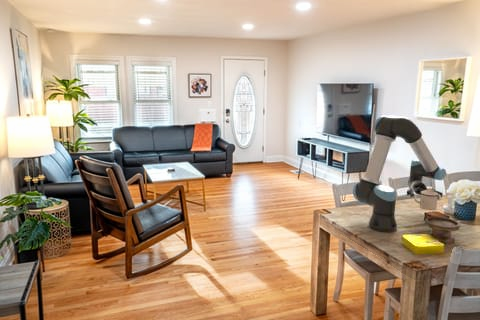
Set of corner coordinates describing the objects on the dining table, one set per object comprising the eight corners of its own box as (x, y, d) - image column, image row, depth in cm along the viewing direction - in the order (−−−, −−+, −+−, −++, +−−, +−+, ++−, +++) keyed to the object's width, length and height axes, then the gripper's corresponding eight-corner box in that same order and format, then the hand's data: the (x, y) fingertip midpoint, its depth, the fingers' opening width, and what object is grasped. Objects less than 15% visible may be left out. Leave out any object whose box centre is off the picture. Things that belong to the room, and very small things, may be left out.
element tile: (427, 241, 196) (427, 232, 195) (445, 253, 181) (446, 244, 181) (399, 242, 195) (400, 233, 194) (416, 255, 180) (417, 245, 179)
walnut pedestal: (430, 243, 193) (431, 226, 191) (419, 231, 208) (421, 215, 206) (463, 244, 190) (465, 227, 189) (450, 232, 206) (452, 217, 204)
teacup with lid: (436, 207, 216) (439, 187, 214) (436, 211, 208) (438, 191, 206) (414, 204, 222) (416, 185, 220) (413, 208, 214) (415, 188, 212)
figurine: (442, 213, 237) (444, 190, 234) (443, 209, 245) (445, 187, 242) (455, 215, 233) (457, 192, 231) (456, 211, 241) (458, 188, 238)
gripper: (439, 195, 229) (450, 205, 208) (397, 192, 234) (404, 202, 214) (440, 183, 228) (452, 192, 207) (398, 180, 233) (405, 189, 212)
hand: (428, 197), depth 210 cm, fingers closed on teacup with lid, 12 cm apart
